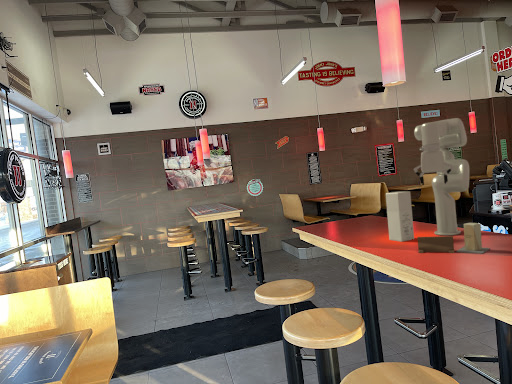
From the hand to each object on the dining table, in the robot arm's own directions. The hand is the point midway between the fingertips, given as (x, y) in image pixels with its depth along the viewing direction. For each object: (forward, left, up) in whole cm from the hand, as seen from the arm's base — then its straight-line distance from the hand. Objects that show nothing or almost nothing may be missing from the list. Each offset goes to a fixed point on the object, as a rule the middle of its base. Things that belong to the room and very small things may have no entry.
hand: (434, 184), depth 181 cm
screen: (+19, +6, -28) cm, 35 cm away
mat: (+12, +19, -28) cm, 36 cm away
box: (+12, +19, -28) cm, 36 cm away
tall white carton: (-3, -20, -28) cm, 35 cm away
